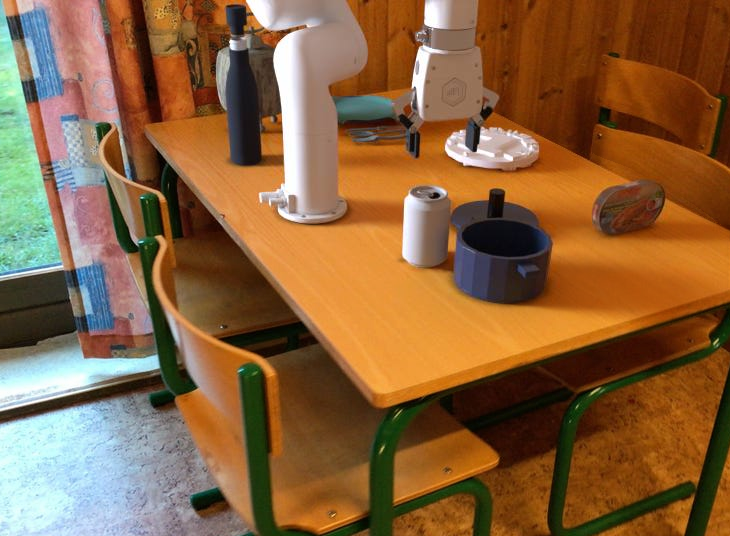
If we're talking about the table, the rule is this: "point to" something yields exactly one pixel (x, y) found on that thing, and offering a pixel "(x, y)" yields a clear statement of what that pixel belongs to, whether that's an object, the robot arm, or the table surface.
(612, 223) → the tin
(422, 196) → the can
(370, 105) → the cutlery set
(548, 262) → the pot
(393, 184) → the table surface
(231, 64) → the dark blue bottle
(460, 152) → the embossed medallion
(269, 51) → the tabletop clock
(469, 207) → the pot lid
